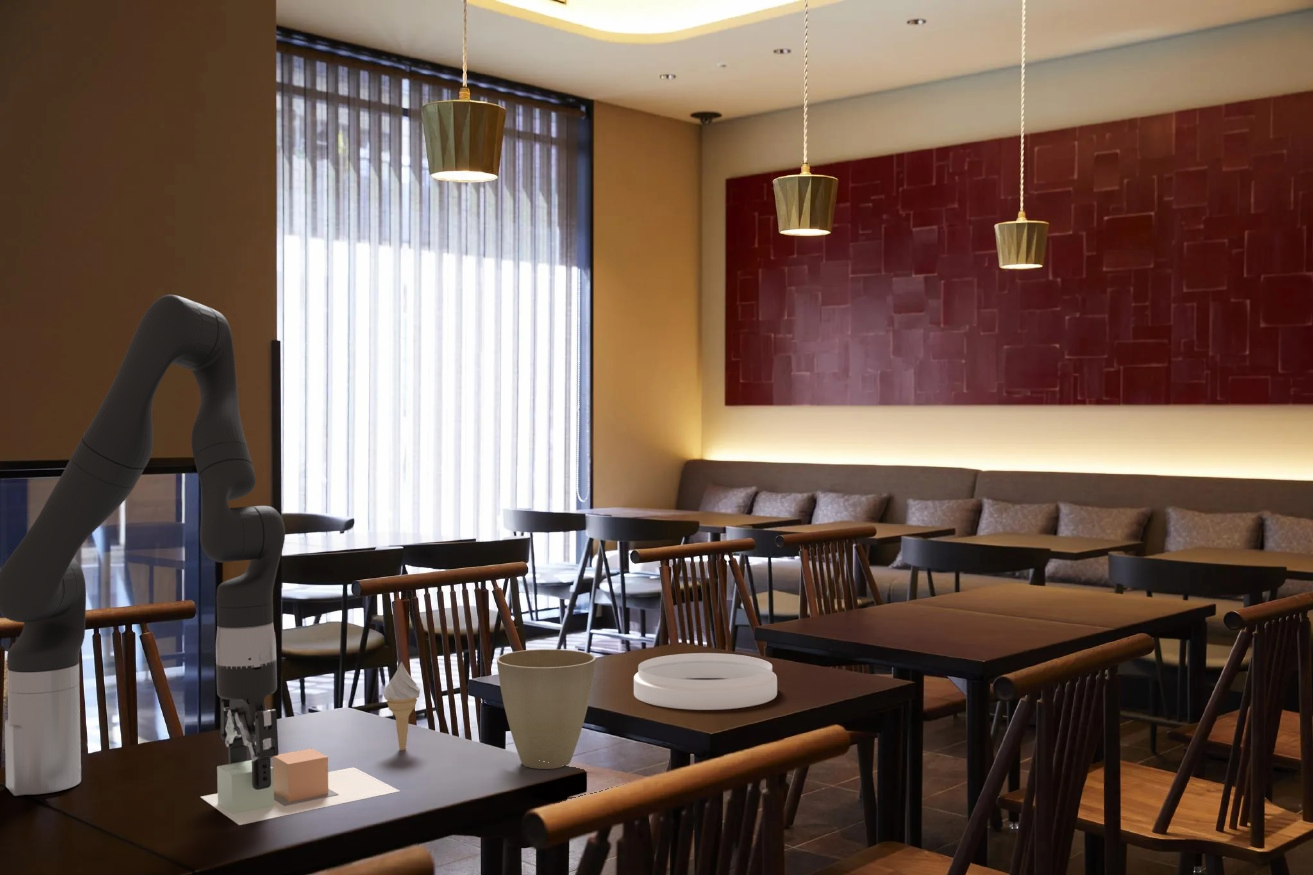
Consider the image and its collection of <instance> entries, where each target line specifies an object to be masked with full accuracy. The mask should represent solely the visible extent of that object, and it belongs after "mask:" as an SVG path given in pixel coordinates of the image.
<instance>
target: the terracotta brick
mask: <svg viewBox="0 0 1313 875" xmlns="http://www.w3.org/2000/svg"><path fill="white" fill-rule="evenodd" d="M272 767H273V768H274V793H275V794H277V795H279V796H280V797H282V798H283V799H285V800H287V801H288V802H291V801H296V800H300V799H305V798H310V797H315V796H320V795H325V794H328V772H329V756H327V755H325V754H323V753H322V752H319V751H317V750H315V749H313V748H307V749H301V750H296V751H291V752H284V753H280V754H279V753H278V756H273V757H272Z"/></svg>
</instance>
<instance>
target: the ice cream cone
mask: <svg viewBox="0 0 1313 875" xmlns="http://www.w3.org/2000/svg"><path fill="white" fill-rule="evenodd" d="M412 677H413V676H411V675H410V674H409V672H408V671H407V669H406V668H405V665H404V663H403V661H401V662H400V664H399V665H398V668H397V670H396V672H395V673H394V674H393V676H392V678H391V679H390V680H389V681H388V684H387V686H386V687H385V688H384V690H383V692H382V693H383V697H384V700H386V704H387V706H388V710H390V711H391V712H392V714H393V715H394V717H395V725H396V732H397V740H398V747H399V751H406V750H407V741H408V733H409V732H408V731H409V716H410V715H411V713H412V711H413V710H414V709H415V708H416V705H417V701H418V699H417V698H419V697H420V694H421V688H419V687H418V685H417V683H416V681H414V679H413V678H412Z"/></svg>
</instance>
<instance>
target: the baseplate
mask: <svg viewBox="0 0 1313 875" xmlns="http://www.w3.org/2000/svg"><path fill="white" fill-rule="evenodd" d="M398 792H399V793H400V792H401V790H400V789H397V788H395V787H394V786H391V785H389V784H387V783H386V782H383V781H382V780H380V779H377V778H375V777H374V776H372V775H370V774H368V773H366V772H364V771H361V770H360V769H358V768H356V767H348V768H343V769H337V770H332V771H328V794H325V795H320V796H315V797H310V798H305V799H300V800H296V801H291V802H288V801H287V800H285V799H283V798H282V797H280V796H279V795H277V794H275V793H274V806H270V807H265V808H261V809H256V810H251V811H246V812H241V813H236V814H231V813H230V812H228V811H227V810H225V809H224V808H223V807H221V806H220V805H218V792H217V793H213V794H207V795H203V796H200V798H201V799H202V800H204V801H205V802H207V803H208V804H209V805H211V806H212V807H213V808H214V809H216V810H218V811H219V812H220V813H221V814H223V815H224V816H226V817H227V818H229V819H230V820H231V821H232V822H234V823H235V824H237V825H238V826H242V825H246V824H251V823H256V822H261V821H265V820H271V819H275V818H280V817H286V816H289V815H294V814H299V813H303V812H308V811H314V810H318V809H325V808H327V807H333V806H337V805H338V806H339V805H341V804H342V805H343V804H347V803H353V802H356V801H360V800H361V801H362V800H365V799H371V798H375V797H380V796H385V795H391V794H394V793H398Z"/></svg>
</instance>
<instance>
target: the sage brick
mask: <svg viewBox="0 0 1313 875" xmlns="http://www.w3.org/2000/svg"><path fill="white" fill-rule="evenodd" d="M252 761H253V760H252V759H250V760H247V761H244V762H238V763H233V764H229V763H228V764H222V765H217V767H216V773H217V774H216V775H217V777H216V778H217V783H216V784H217V793H218V805H220V806H221V807H223V808H224V809H225V810H227V811H228V812H230V813H231V814H236V813H241V812H246V811H251V810H256V809H261V808H265V807H270V806H274V768H273V766H271V786H270V787H269V788H265V789H260V790H256V789H254V788H253V786H252Z"/></svg>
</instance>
